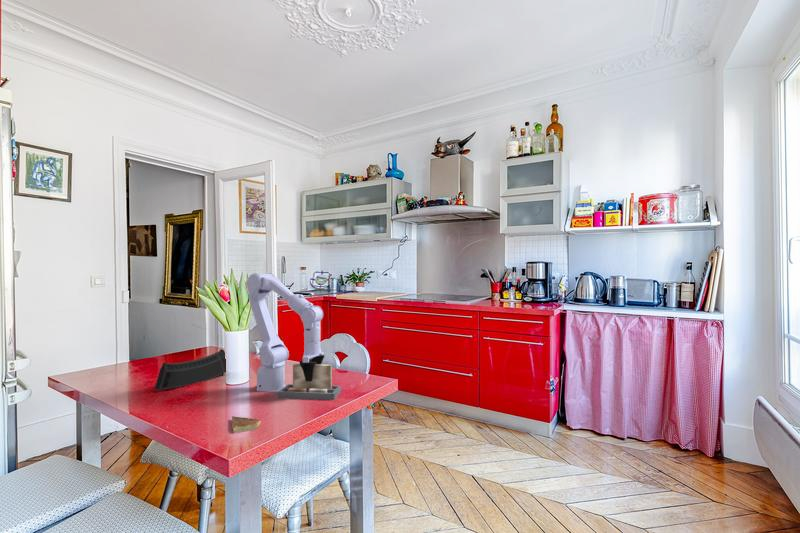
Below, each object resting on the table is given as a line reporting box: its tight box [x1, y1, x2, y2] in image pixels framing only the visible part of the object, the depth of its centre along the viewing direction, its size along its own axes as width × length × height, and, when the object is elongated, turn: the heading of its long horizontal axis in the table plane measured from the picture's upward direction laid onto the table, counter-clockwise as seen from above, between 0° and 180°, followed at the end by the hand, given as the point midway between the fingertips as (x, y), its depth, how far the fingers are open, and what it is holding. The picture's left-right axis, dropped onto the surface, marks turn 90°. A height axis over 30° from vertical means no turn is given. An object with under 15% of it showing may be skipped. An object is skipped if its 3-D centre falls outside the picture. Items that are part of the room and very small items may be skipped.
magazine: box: [154, 348, 227, 391], centre depth 152 cm, size 17×3×30 cm
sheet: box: [292, 363, 333, 389], centre depth 138 cm, size 14×2×10 cm, turn 84°
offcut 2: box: [309, 388, 327, 393], centre depth 133 cm, size 6×2×2 cm, turn 84°
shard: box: [231, 416, 262, 434], centre depth 111 cm, size 11×8×2 cm
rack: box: [277, 383, 342, 401], centre depth 136 cm, size 20×10×3 cm, turn 84°
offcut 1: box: [288, 388, 307, 392], centre depth 134 cm, size 6×2×2 cm, turn 84°
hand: (312, 378), depth 138 cm, fingers open, 7 cm apart
